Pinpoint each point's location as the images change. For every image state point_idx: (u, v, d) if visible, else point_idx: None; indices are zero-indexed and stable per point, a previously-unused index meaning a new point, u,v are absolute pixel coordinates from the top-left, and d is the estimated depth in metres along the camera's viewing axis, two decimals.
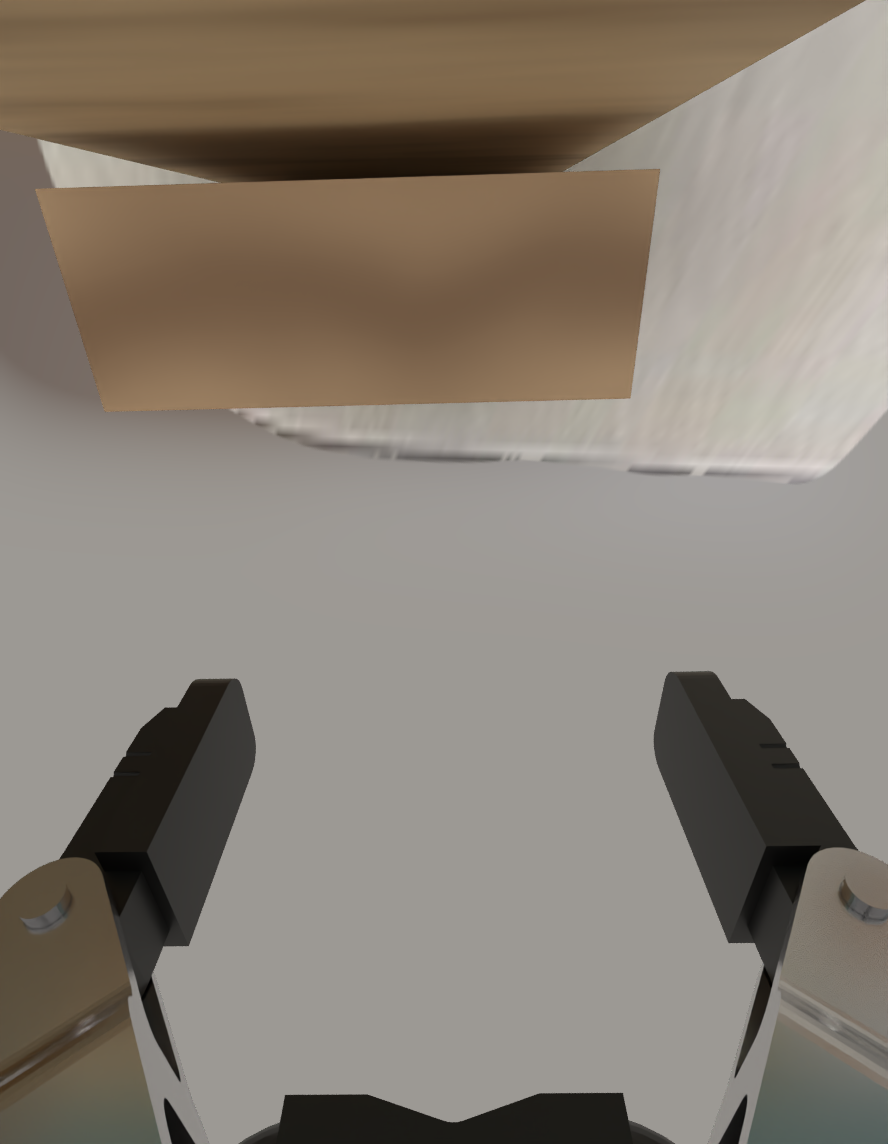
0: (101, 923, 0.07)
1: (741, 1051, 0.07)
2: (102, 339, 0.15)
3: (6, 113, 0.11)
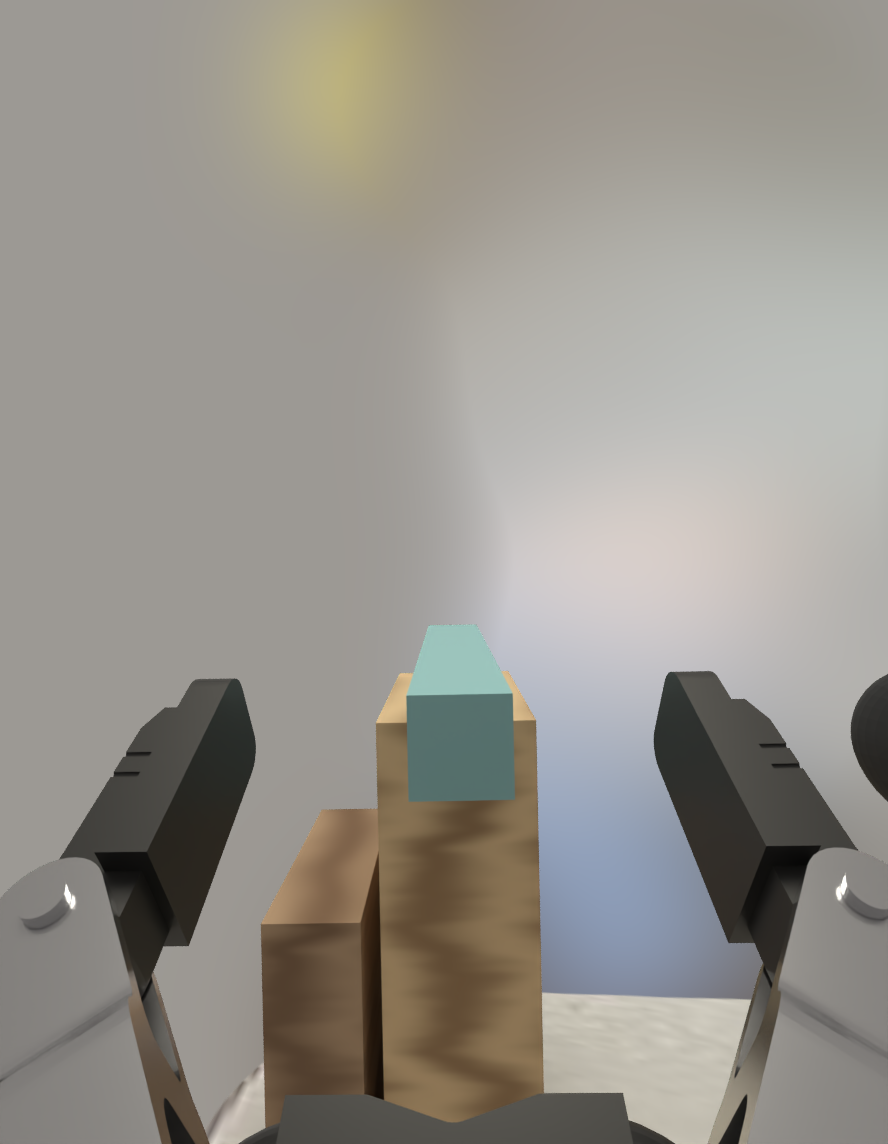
0: (101, 923, 0.07)
1: (741, 1051, 0.07)
2: (344, 812, 0.43)
3: None
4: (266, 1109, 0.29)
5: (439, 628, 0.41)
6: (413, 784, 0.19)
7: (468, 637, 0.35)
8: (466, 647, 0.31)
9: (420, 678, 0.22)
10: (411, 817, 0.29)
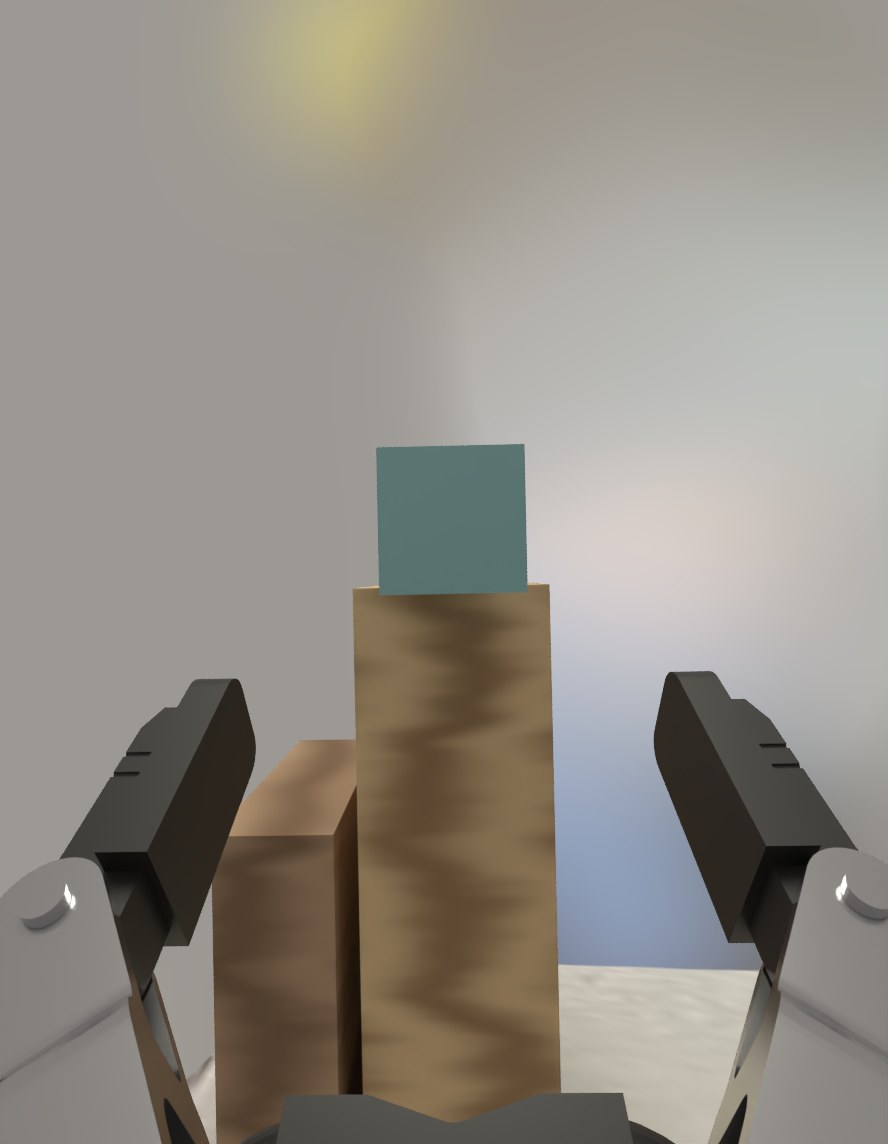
0: (100, 923, 0.07)
1: (741, 1051, 0.07)
2: (326, 742, 0.37)
3: None
4: (216, 1066, 0.24)
5: None
6: (386, 571, 0.14)
7: None
8: None
9: None
10: (396, 704, 0.24)
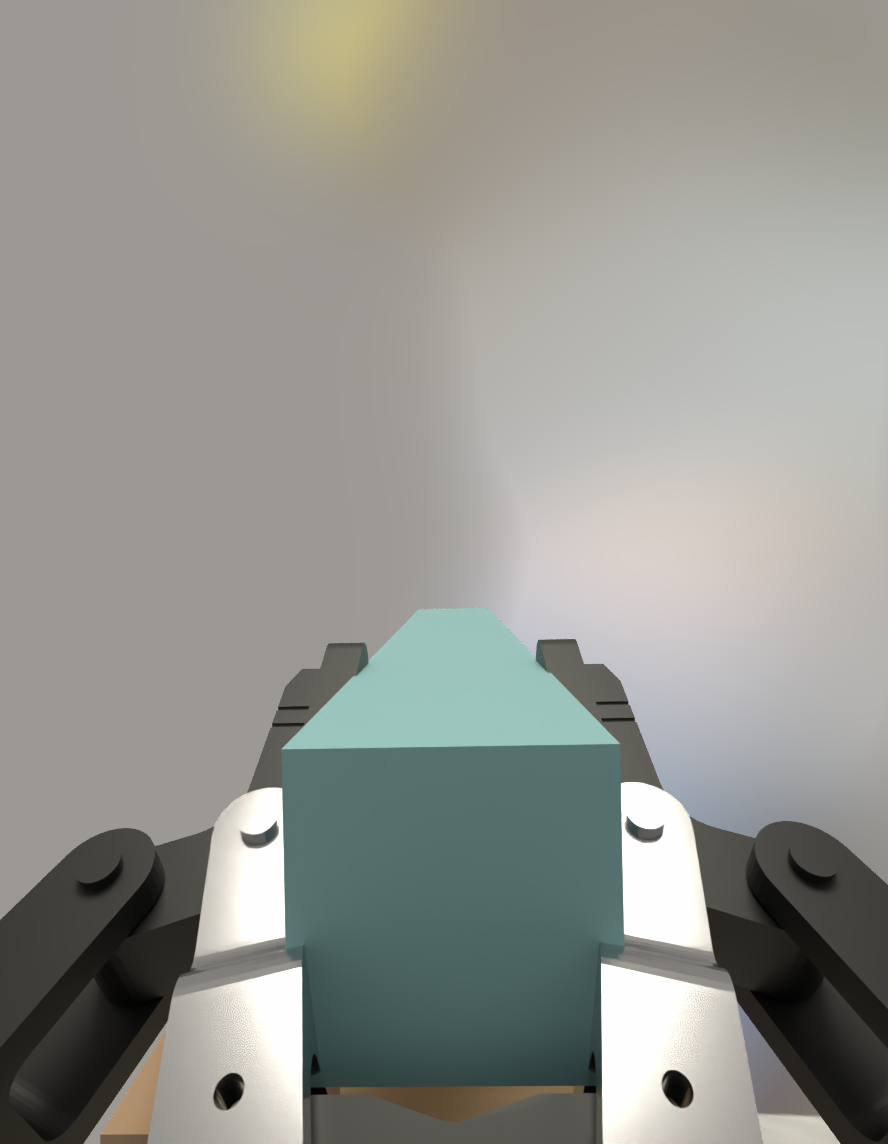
0: None
1: None
2: None
3: None
4: None
5: (433, 611, 0.28)
6: None
7: (476, 620, 0.22)
8: (473, 633, 0.18)
9: (359, 691, 0.09)
10: None
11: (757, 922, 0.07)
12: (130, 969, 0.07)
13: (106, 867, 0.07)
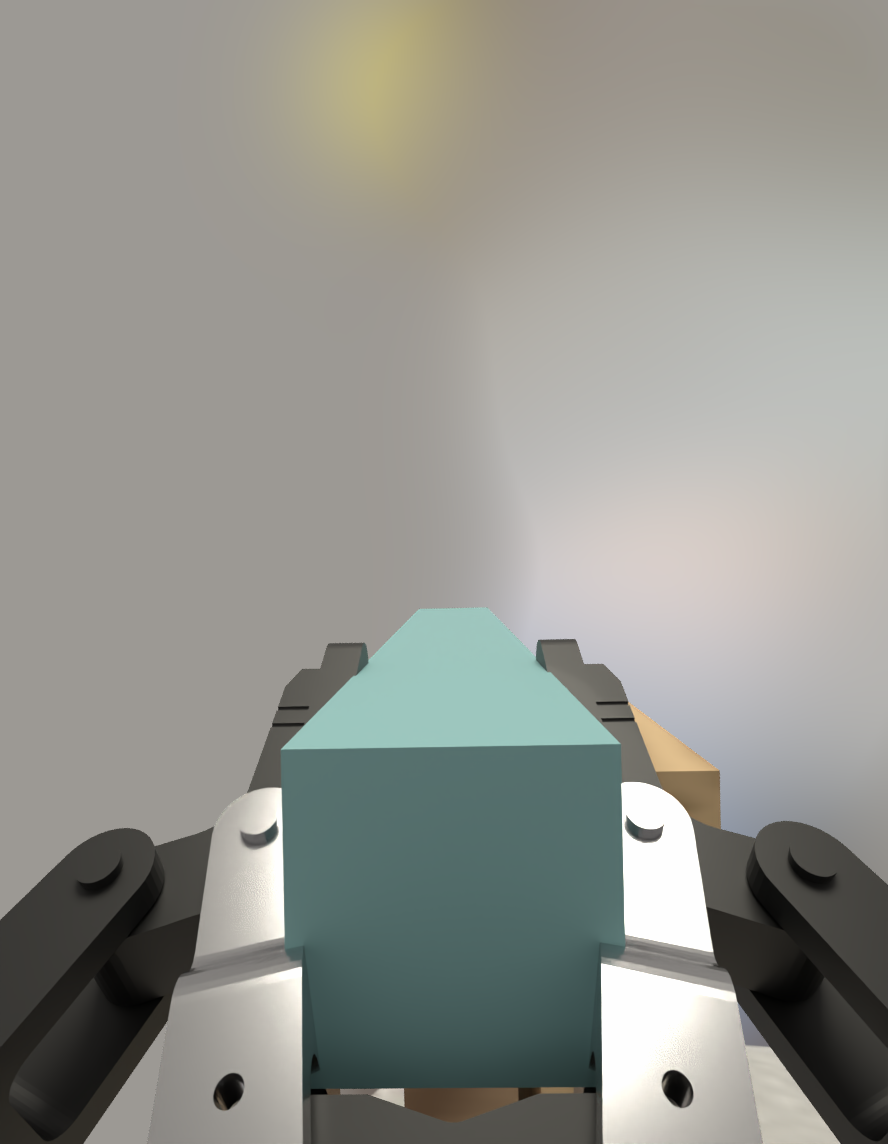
0: None
1: None
2: None
3: None
4: None
5: (433, 611, 0.28)
6: None
7: (476, 620, 0.22)
8: (473, 632, 0.17)
9: (359, 691, 0.09)
10: None
11: (757, 922, 0.07)
12: (130, 969, 0.07)
13: (106, 867, 0.07)
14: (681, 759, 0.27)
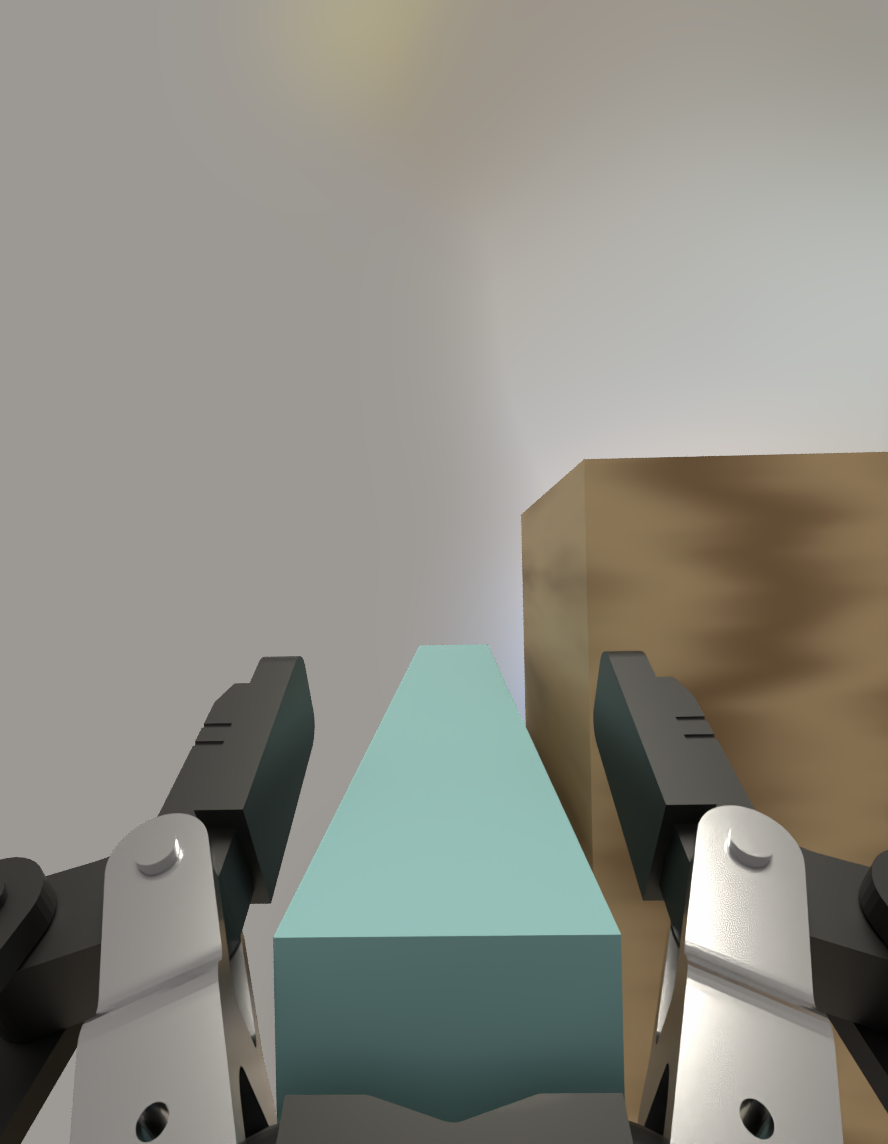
0: (212, 870, 0.07)
1: (659, 1016, 0.07)
2: None
3: (527, 677, 0.28)
4: None
5: (433, 651, 0.28)
6: None
7: (476, 671, 0.22)
8: (472, 696, 0.17)
9: (355, 815, 0.09)
10: (653, 643, 0.15)
11: (879, 957, 0.07)
12: (28, 999, 0.07)
13: None
14: None
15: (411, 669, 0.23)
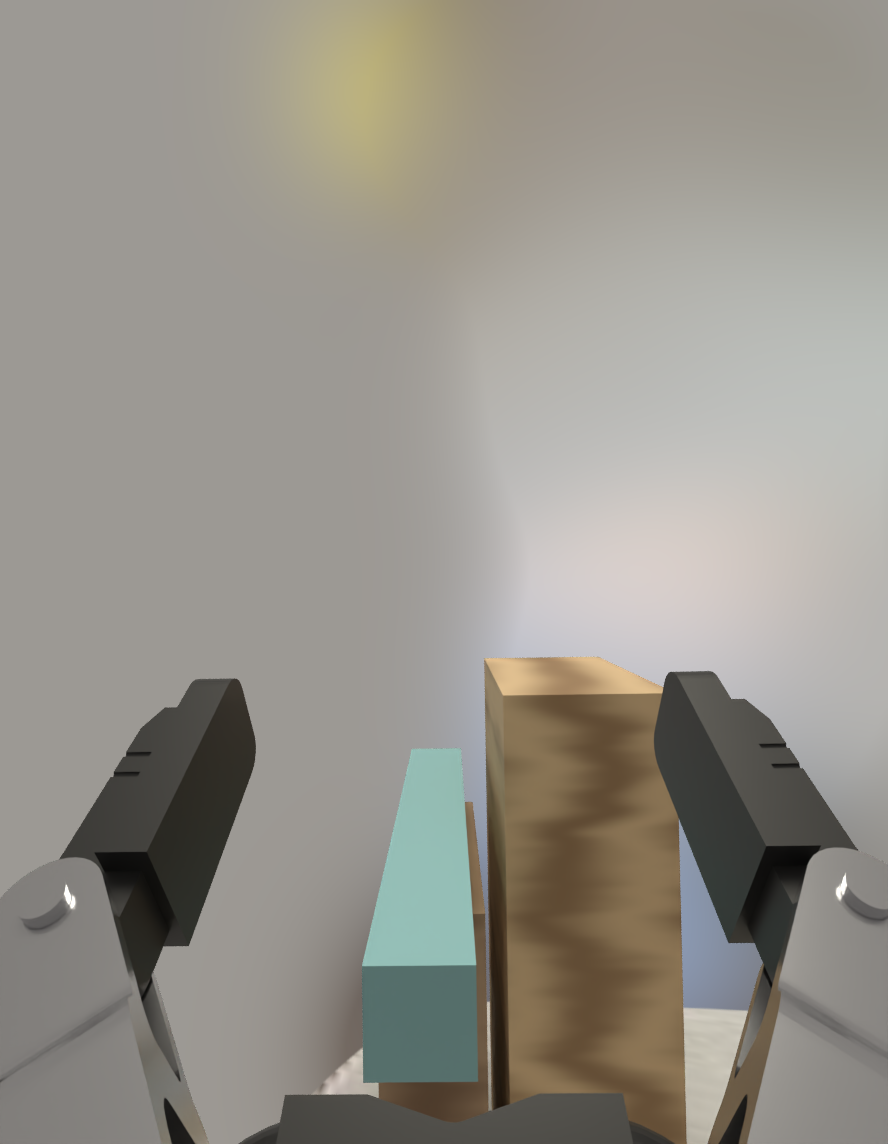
0: (101, 923, 0.07)
1: (741, 1051, 0.07)
2: None
3: (487, 776, 0.40)
4: None
5: (421, 758, 0.40)
6: (368, 1064, 0.18)
7: (448, 787, 0.34)
8: (443, 817, 0.29)
9: (383, 912, 0.21)
10: (540, 797, 0.27)
11: None
12: None
13: None
14: (642, 687, 0.29)
15: (406, 783, 0.35)
